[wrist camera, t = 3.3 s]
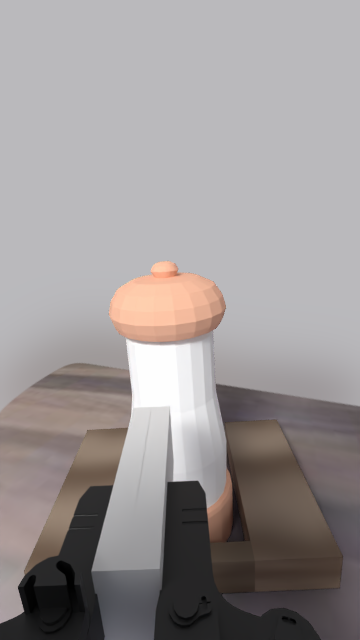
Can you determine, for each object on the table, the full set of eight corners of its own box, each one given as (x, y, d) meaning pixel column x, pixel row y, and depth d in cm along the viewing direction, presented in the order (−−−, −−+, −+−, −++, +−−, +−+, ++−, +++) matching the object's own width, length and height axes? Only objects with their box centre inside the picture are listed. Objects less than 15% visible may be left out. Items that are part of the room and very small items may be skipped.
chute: (339, 588, 19) (342, 556, 18) (32, 601, 20) (23, 571, 19) (276, 441, 32) (276, 419, 31) (91, 451, 32) (87, 430, 32)
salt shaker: (185, 590, 20) (157, 276, 14) (116, 519, 25) (77, 267, 19) (252, 513, 24) (251, 256, 19) (184, 467, 29) (167, 253, 24)
